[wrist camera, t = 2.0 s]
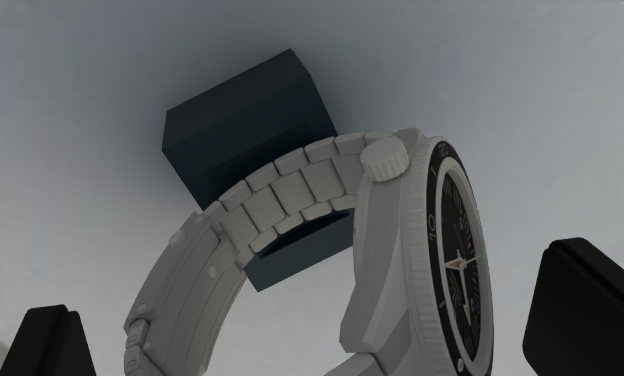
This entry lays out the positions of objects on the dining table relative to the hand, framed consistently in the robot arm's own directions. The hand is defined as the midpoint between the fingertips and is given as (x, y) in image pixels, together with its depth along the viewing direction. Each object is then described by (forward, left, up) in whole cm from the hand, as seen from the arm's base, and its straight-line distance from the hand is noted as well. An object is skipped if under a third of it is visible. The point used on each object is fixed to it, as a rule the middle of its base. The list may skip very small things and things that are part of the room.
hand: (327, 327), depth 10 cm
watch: (0, 0, -9) cm, 9 cm away
